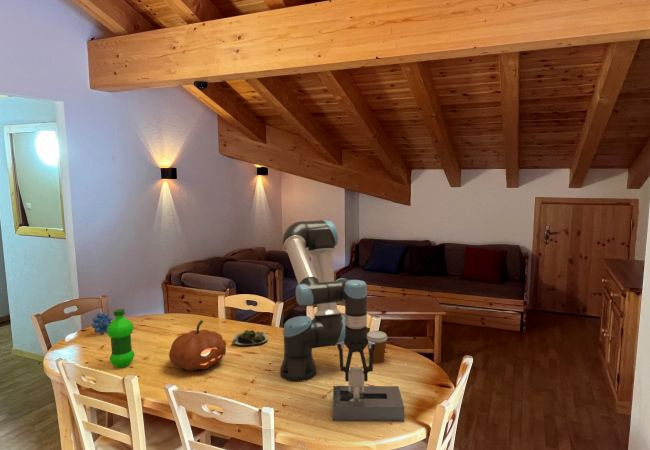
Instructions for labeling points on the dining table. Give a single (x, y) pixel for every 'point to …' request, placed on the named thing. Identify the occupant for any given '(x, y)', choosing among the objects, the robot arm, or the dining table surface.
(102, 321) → the grapes
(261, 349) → the dining table surface
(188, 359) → the pumpkin
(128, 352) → the plastic bottle
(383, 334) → the disposable coffee cup
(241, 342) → the salad plate
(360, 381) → the headed peg
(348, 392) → the keyhole plate
